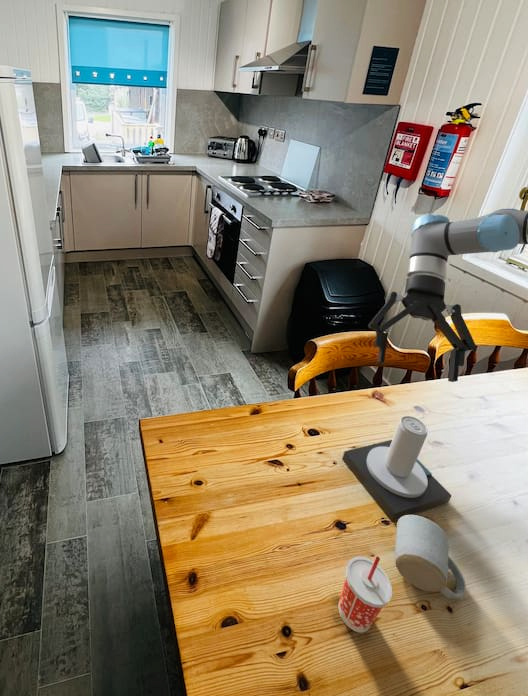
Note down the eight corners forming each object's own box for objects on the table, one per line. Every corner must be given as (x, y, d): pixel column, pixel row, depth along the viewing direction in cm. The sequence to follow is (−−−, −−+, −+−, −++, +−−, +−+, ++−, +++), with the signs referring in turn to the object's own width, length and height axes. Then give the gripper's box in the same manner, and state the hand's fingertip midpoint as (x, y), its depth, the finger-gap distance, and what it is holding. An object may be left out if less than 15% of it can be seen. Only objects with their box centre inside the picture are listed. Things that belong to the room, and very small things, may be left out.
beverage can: (396, 456, 84) (412, 413, 79) (415, 475, 80) (434, 432, 75) (378, 461, 82) (394, 418, 78) (397, 482, 78) (415, 437, 73)
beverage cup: (384, 621, 60) (411, 566, 54) (360, 649, 57) (387, 593, 51) (348, 582, 65) (370, 527, 59) (324, 605, 61) (345, 550, 56)
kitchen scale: (448, 503, 78) (453, 492, 77) (391, 521, 74) (396, 509, 73) (392, 446, 90) (397, 435, 89) (341, 459, 86) (345, 447, 85)
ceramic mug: (388, 575, 66) (402, 547, 63) (391, 532, 72) (404, 505, 69) (464, 618, 61) (483, 590, 58) (460, 568, 67) (477, 540, 64)
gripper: (482, 296, 90) (476, 390, 83) (363, 273, 98) (349, 357, 92) (499, 286, 83) (494, 388, 77) (369, 263, 91) (356, 353, 85)
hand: (415, 371), depth 84 cm, fingers open, 13 cm apart
